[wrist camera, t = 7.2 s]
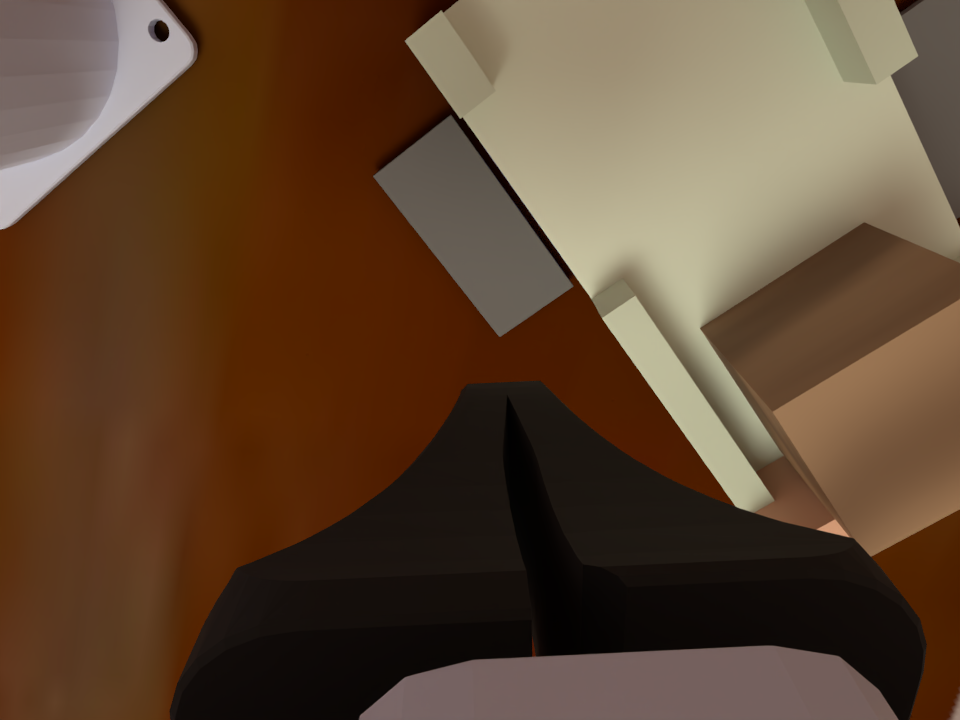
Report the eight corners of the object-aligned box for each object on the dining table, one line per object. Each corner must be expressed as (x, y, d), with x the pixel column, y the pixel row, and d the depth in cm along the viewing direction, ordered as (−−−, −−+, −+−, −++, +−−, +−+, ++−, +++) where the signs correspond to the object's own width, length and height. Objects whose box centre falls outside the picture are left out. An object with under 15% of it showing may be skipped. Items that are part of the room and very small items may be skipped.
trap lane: (413, 42, 19) (398, 39, 14) (715, -208, 17) (818, -310, 12) (722, 479, 24) (787, 584, 20) (973, 332, 22) (1112, 409, 18)
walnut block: (699, 328, 20) (772, 411, 15) (864, 222, 19) (995, 278, 14) (779, 450, 22) (866, 558, 17) (934, 359, 20) (1072, 448, 16)
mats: (374, 174, 20) (373, 176, 20) (868, -215, 17) (875, -219, 16) (586, 444, 24) (588, 449, 23) (1023, 170, 20) (1031, 172, 20)
